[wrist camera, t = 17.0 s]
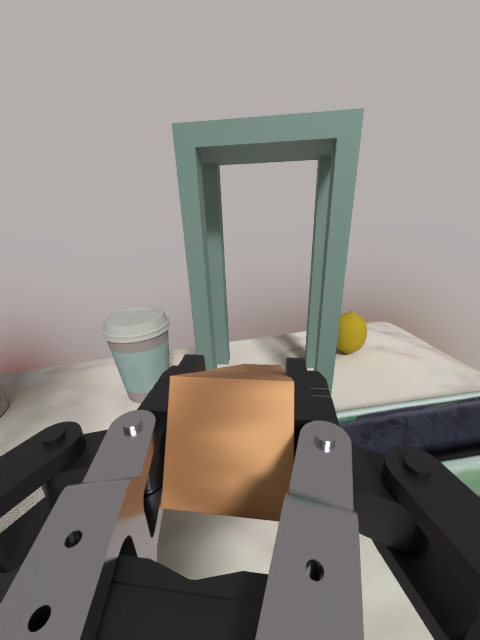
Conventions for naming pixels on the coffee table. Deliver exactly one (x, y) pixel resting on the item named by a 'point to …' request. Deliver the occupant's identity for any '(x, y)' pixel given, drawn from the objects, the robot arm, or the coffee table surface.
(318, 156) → the tall green stool
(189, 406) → the block
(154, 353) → the coffee cup
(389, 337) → the coffee table surface
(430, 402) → the planter
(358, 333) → the lemon
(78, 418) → the coffee table surface
